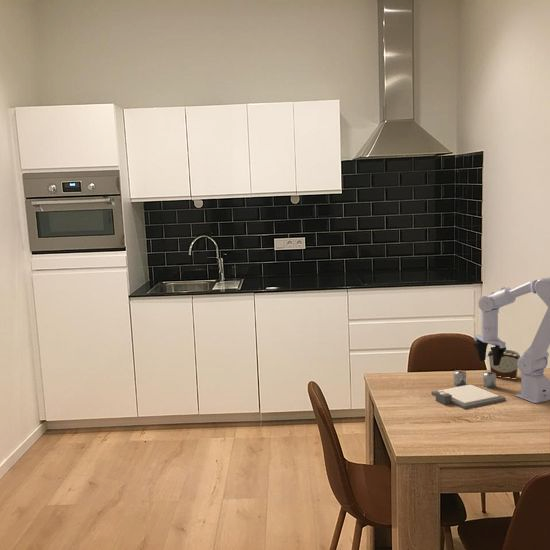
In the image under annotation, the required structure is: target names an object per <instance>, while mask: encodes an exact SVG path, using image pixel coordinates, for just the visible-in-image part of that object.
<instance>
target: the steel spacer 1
mask: <svg viewBox="0 0 550 550" xmlns="http://www.w3.org/2000/svg"><path fill="white" fill-rule="evenodd" d="M453 385H454V387H458V386H463V385H467V372H466V371H465V370H461V369H459V370H458V369H457V370H453Z"/></svg>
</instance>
